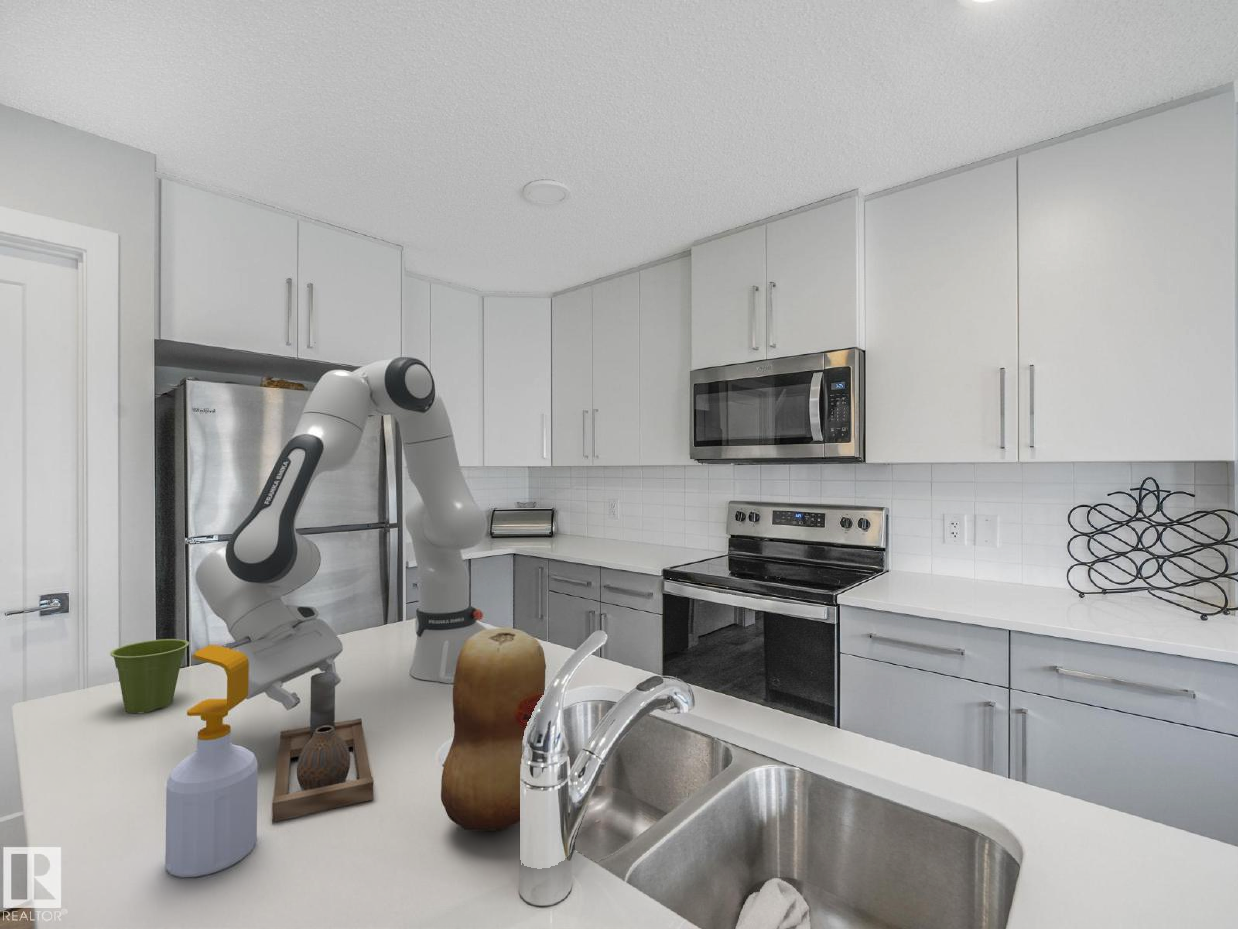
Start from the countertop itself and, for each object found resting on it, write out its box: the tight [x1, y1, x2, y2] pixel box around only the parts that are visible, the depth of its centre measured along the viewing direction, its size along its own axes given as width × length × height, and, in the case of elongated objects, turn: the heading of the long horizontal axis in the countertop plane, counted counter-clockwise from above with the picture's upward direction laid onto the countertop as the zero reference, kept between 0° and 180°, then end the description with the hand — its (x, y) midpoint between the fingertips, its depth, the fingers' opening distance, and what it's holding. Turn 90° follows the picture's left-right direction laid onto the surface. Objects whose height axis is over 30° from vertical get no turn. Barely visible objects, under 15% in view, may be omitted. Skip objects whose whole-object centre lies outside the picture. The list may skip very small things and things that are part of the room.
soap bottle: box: [164, 644, 259, 878], centre depth 72 cm, size 9×9×25 cm
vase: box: [296, 726, 351, 791], centre depth 86 cm, size 7×7×9 cm
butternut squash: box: [440, 626, 547, 832], centre depth 79 cm, size 14×13×25 cm
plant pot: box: [109, 638, 190, 714], centre depth 114 cm, size 12×12×11 cm
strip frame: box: [271, 671, 374, 823], centre depth 91 cm, size 12×23×12 cm, turn 27°
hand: (316, 695), depth 98 cm, fingers open, 8 cm apart
